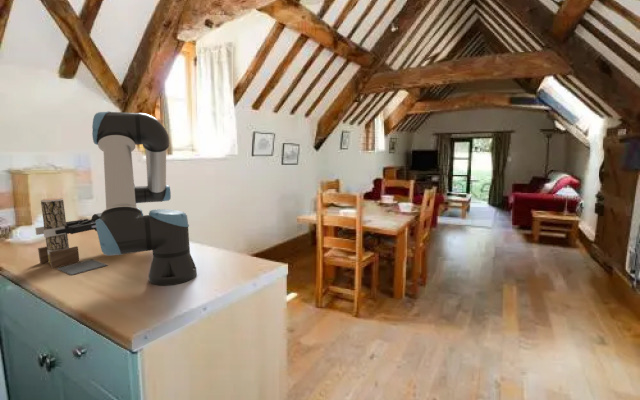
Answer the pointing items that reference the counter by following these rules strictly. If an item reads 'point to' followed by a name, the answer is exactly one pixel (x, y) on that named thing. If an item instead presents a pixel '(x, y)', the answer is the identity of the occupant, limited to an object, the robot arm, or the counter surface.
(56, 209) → the paper tube
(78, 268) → the mat
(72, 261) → the board
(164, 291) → the counter surface
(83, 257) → the counter surface
